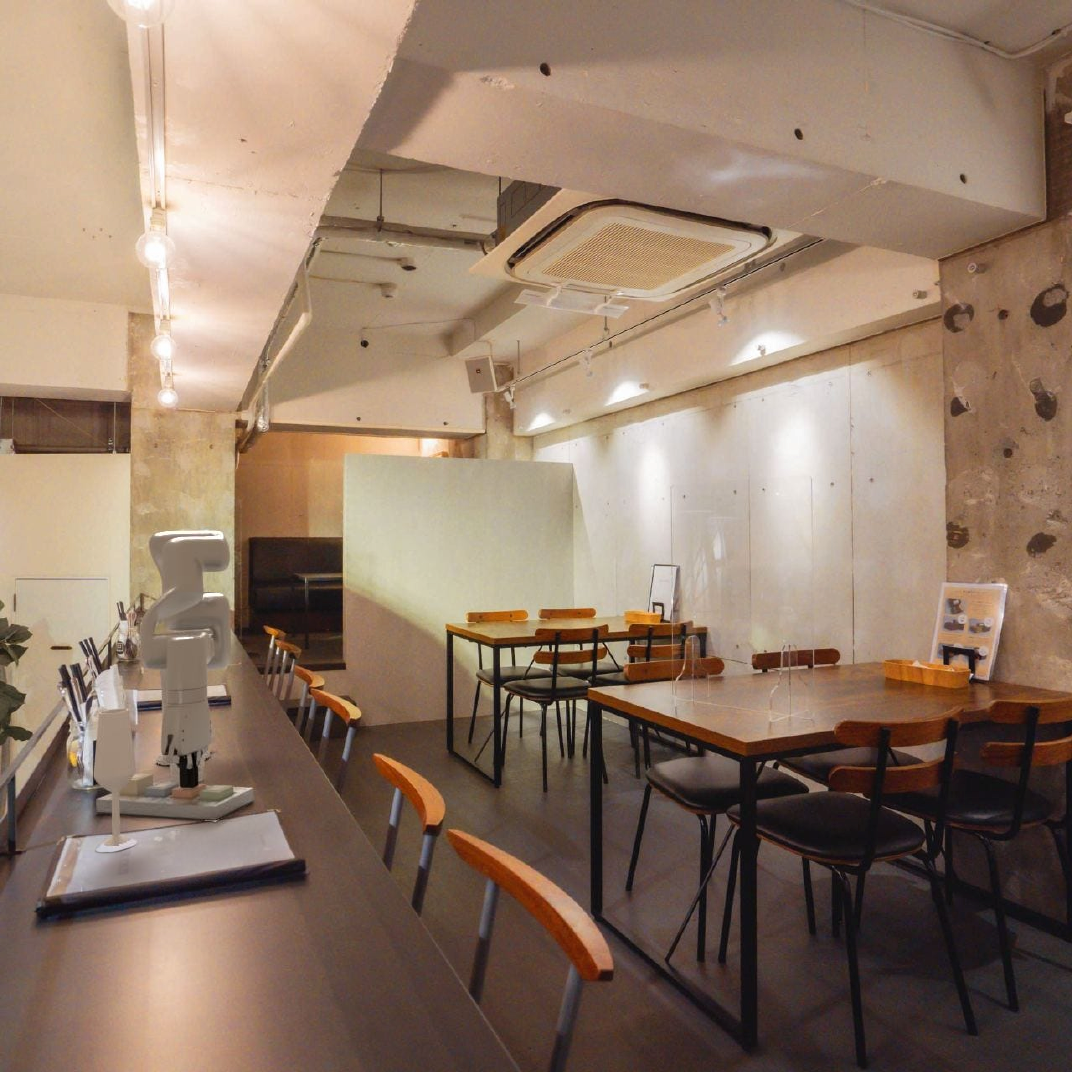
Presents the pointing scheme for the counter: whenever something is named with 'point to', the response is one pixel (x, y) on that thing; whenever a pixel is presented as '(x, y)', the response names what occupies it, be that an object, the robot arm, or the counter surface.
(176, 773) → the white cup
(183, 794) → the key
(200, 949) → the counter surface
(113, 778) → the champagne flute
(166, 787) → the key
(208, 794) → the key
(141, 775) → the key
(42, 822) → the counter surface
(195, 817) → the keyguard pad
